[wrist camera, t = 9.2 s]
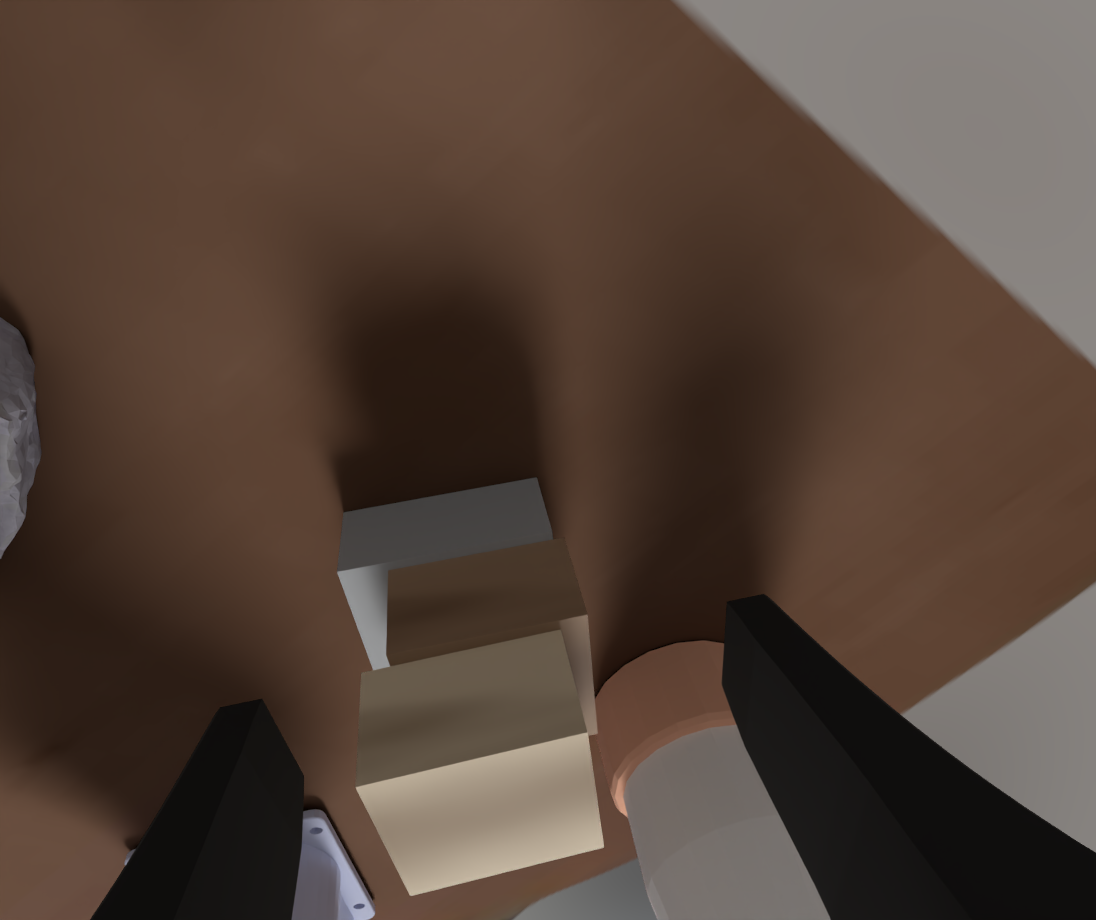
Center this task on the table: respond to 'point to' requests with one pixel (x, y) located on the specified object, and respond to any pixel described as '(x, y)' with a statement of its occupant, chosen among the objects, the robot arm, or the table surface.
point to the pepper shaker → (696, 794)
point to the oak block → (477, 762)
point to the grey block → (429, 543)
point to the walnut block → (491, 608)
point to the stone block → (16, 431)
